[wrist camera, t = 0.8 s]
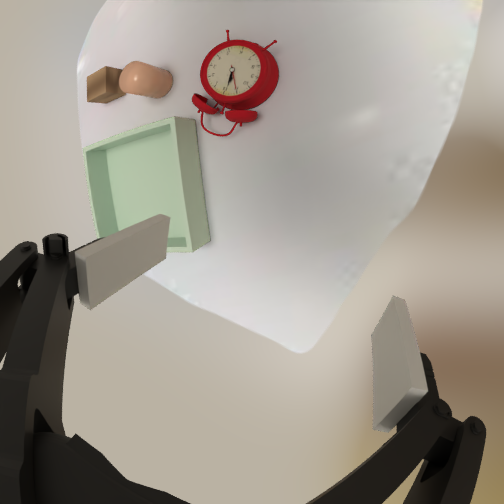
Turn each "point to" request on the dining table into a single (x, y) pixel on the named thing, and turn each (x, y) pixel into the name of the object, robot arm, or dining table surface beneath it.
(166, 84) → the terracotta canister
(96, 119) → the dining table surface
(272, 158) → the dining table surface
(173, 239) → the tray
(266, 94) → the alarm clock
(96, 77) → the walnut cube
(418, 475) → the robot arm
